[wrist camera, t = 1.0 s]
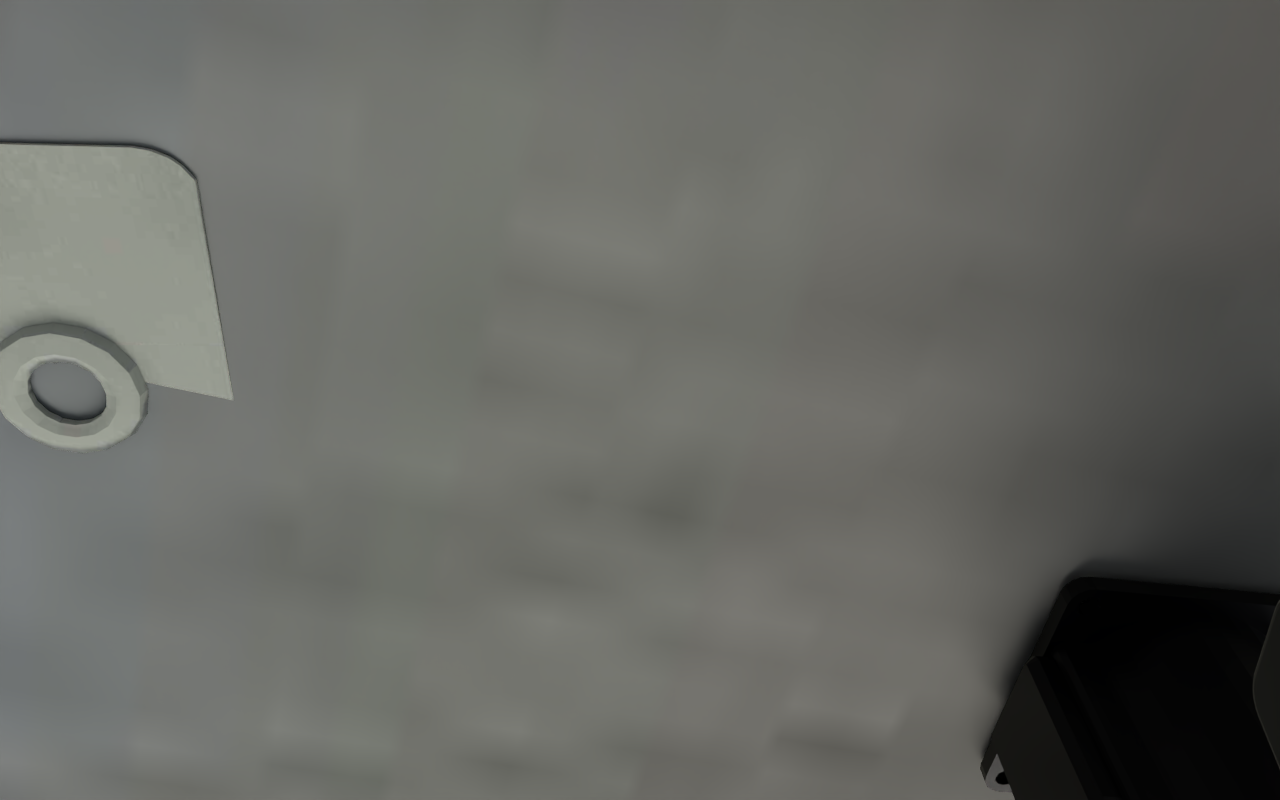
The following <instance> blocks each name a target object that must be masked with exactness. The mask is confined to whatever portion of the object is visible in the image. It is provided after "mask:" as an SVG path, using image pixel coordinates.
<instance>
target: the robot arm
mask: <svg viewBox="0 0 1280 800" xmlns="http://www.w3.org/2000/svg"><path fill="white" fill-rule="evenodd" d="M1088 598H1091V599H1090V600H1088V601H1086V602H1084V603H1081V602H1082V601H1084V600H1086V599H1088ZM980 769H981V772H982V775H983V777H984V780H985V782H986V785H987V787H989V788H990V789H992V790H995V791H999V792H1012V793H1013V795H1014V798H1015V800H1280V595H1279V594H1269V593H1258V592H1247V591H1236V590H1226V589H1215V588H1204V587H1193V586H1183V585H1172V584H1161V583H1150V582H1140V581H1129V580H1118V579H1107V578H1097V577H1082V578H1079V579H1076V580H1073V581H1072V582H1070V583H1069V584H1067V585H1066V586H1065V587H1064V588H1063V590H1062V591H1061V593H1060V595H1059V597H1058V599H1057V601H1056V603H1055V606H1054V608H1053V610H1052V612H1051V614H1050V616H1049V618H1048V621H1047V623H1046V625H1045V627H1044V629H1043V631H1042V633H1041V636H1040V638H1039V640H1038V642H1037V644H1036V646H1035V648H1034V651H1033V653H1032V655H1031V657H1030V659H1029V660H1028V661H1027V662H1026V664H1025V665H1024V666H1023V669H1022V671H1021V673H1020V675H1019V677H1018V679H1017V681H1016V684H1015V686H1014V688H1013V690H1012V692H1011V694H1010V697H1009V699H1008V701H1007V703H1006V705H1005V707H1004V709H1003V712H1002V714H1001V716H1000V718H999V720H998V722H997V725H996V727H995V729H994V731H993V733H992V741H991V743H990V745H989V747H988V749H987V752H986V754H985V756H984V758H983V760H982V762H981V767H980Z"/></svg>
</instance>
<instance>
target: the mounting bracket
mask: <svg viewBox="0 0 1280 800" xmlns="http://www.w3.org/2000/svg"><path fill="white" fill-rule="evenodd" d="M58 362H64V363H70V364H75V365H77V366H79V367H81V368H83V369H85V370H87V371H89V372H90V373H91V374H92V375H93V376H94V377H95V378H96V379H98V380H99V381H100V382H101V385H102V387H103V389H104V391H105V393H106V408H105V410H104V411H103V413H101V414H100V415H98V416H96V417H95V418H93V419H87V420H80V421H78V420H71V419H65V418H62V417H60V416H58V415H56V414H54V413H52V412H49V411H48V410H47V409H46V408H45V407H44V406H43V405H42V404H40V403H39V402H38V401H37V399H36V397H35V395H34V393H33V391H32V389H31V374H32V372H33V371H34V370H35V369H37V368H38V367H40V366H41V365H43V364H46V363H58ZM145 382H147V383H152V384H157V385H162V386H166V387H171V388H176V389H181V390H186V391H191V392H195V393H200V394H205V395H210V396H215V397H220V398H224V399H229V400H234V399H233V393H232V387H231V381H230V375H229V369H228V363H227V357H226V352H225V346H224V340H223V334H222V328H221V322H220V316H219V310H218V304H217V298H216V292H215V286H214V280H213V274H212V268H211V262H210V256H209V250H208V245H207V239H206V233H205V227H204V221H203V215H202V209H201V203H200V197H199V191H198V185H197V179H196V178H195V177H194V176H193V175H192V174H191V173H190V172H189V171H188V170H187V169H186V168H185V167H184V166H183V165H182V164H181V163H179V162H178V161H176V160H175V159H173V158H172V157H170V156H168V155H166V154H163V153H160V152H158V151H155V150H153V149H149V148H143V147H137V146H123V145H85V144H43V143H2V142H0V410H1V412H2V413H3V415H4V417H5V418H6V419H7V420H8V421H9V422H11V423H12V424H13V425H14V426H15V427H16V428H17V429H19V430H20V431H21V432H22V433H23V434H24V435H25V436H27V437H29V438H31V439H33V440H35V441H37V442H40V443H42V444H44V445H46V446H48V447H50V448H52V449H57V450H63V451H70V452H76V453H88V452H95V451H101V450H108V449H110V448H111V447H113V446H115V445H116V444H118V443H120V442H121V441H123V440H125V439H127V438H128V437H130V436H132V435H133V434H135V433H136V431H137V430H138V428H139V427H140V425H141V423H142V422H143V420H144V418H145V417H146V415H147V414H148V387H147V385H146V383H145Z"/></svg>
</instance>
